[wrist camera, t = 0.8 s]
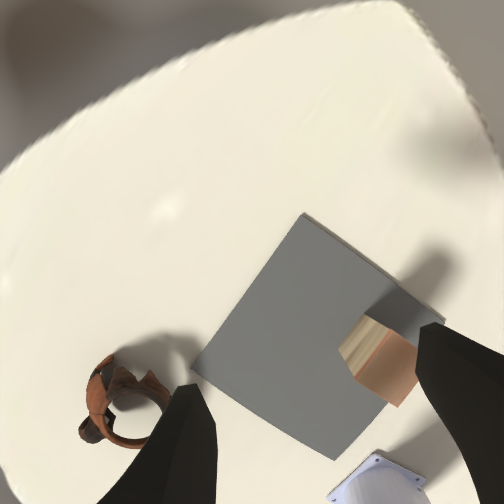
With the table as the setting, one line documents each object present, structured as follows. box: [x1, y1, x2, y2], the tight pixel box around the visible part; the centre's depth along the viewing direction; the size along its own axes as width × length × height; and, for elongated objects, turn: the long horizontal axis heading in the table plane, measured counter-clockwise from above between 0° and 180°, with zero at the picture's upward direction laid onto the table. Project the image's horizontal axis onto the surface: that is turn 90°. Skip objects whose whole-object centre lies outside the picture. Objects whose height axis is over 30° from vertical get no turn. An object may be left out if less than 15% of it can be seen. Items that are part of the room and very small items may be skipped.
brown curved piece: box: [78, 355, 172, 449], centre depth 28 cm, size 12×10×8 cm
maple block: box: [338, 314, 419, 408], centre depth 23 cm, size 4×4×9 cm
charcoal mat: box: [191, 215, 445, 461], centre depth 29 cm, size 18×18×1 cm
